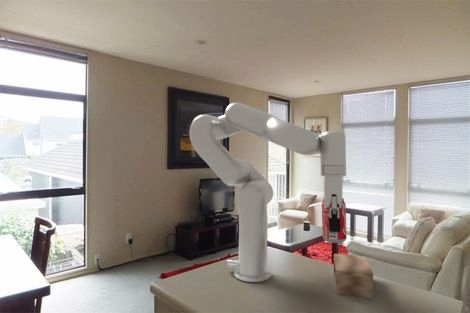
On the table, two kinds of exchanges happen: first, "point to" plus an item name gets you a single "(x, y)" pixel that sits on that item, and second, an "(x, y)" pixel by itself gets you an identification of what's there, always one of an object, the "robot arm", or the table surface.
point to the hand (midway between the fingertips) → (334, 228)
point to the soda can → (327, 235)
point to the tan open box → (353, 276)
